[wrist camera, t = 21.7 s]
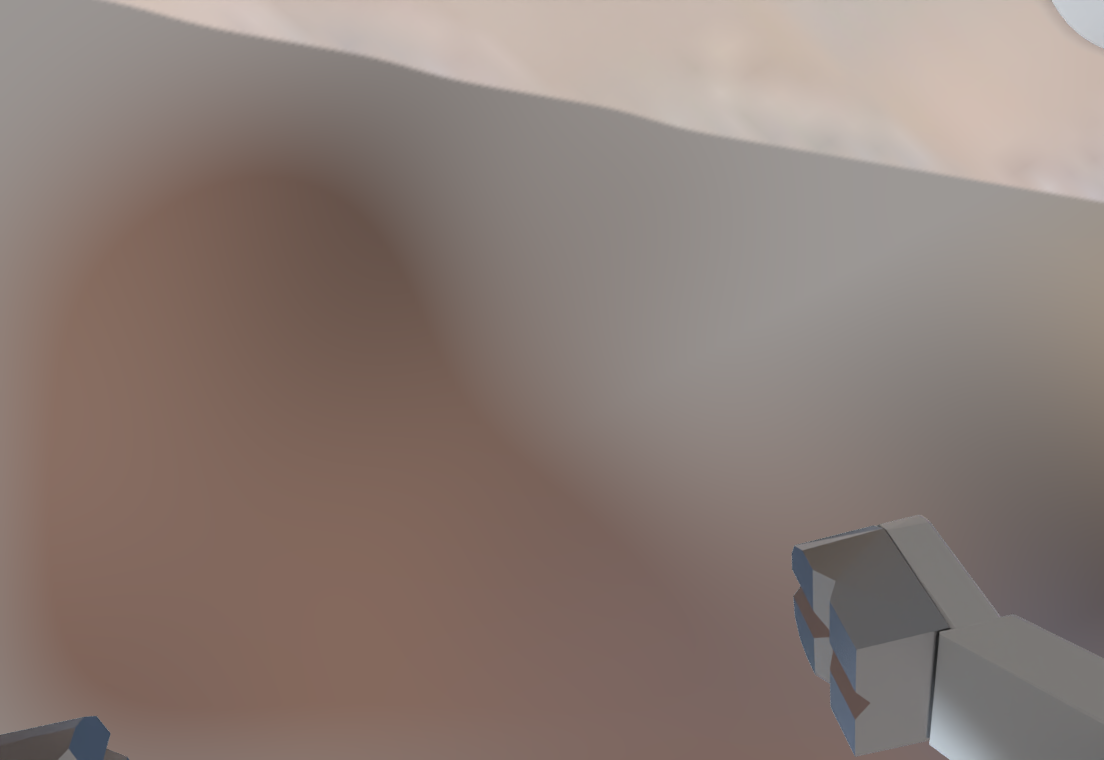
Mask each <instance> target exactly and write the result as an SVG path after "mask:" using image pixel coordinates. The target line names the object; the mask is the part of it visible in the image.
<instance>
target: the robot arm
mask: <svg viewBox="0 0 1104 760" xmlns="http://www.w3.org/2000/svg"><path fill="white" fill-rule="evenodd" d="M1052 2H1053V3H1054V5H1055V7H1056V9H1057V10H1058V12H1059V13H1060V14H1061V16H1062V17H1063V18H1064V20H1065V21H1066V22H1067V23H1068V24H1069V25H1070V26H1071V27H1072V28H1073V29H1074V30H1075V31H1076V32H1077V33H1078V34H1080V35H1081V36H1082V37H1083V38H1085V39H1086V40H1088V41H1090V42H1091V43H1093V44H1095V45H1097V46H1099V47H1101V48H1103V49H1104V0H1052ZM792 570H793V572H794V574H795V576H796V578H797V580H798V582H799V584H800V588H799V589H798V591H797V592H796V593H795V595H794V596H793V597H794V611H795V619H796V623H797V628H798V632H799V636H800V640H801V643H802V645H803V648H804V651H805V653H806V656H807V658H808V660H809V663H810V665H811V667H812V669H813V671H814V673H815V675H817V676H818V677H820V678H822V679H823V680H825V681H827V682H828V683H830V700H831V702H830V703H831V709H832V711H833V713H834V715H835V717H836V719H837V721H838V723H839V725H840V727H841V729H842V731H843V733H844V735H845V737H846V739H847V741H848V743H849V745H850V747H851V749H852V751H853V753H854V756H860V755H865V754H869V753H874V752H879V751H883V750H888V749H892V748H897V747H902V746H906V745H911V744H915V743H920V742H925V741H929V740H930V743H929V744H930V745H931V746H932V747H934V748H935V749H936V750H938V751H939V752H940V753H942V754H943V755H944V756H946V757H947V758H948V759H950V760H1104V658H1101V657H1100V656H1098V655H1096V654H1093V653H1091V652H1089V651H1087V650H1085V649H1083V648H1081V647H1079V646H1077V645H1075V644H1073V643H1071V642H1069V641H1067V640H1065V639H1063V638H1061V637H1059V636H1057V635H1055V634H1053V633H1051V632H1049V631H1047V630H1045V629H1043V628H1040V627H1039V626H1036V625H1035V624H1032V623H1030V622H1028V621H1026V620H1024V619H1022V618H1020V617H1018V616H1016V615H1008V616H1004V617H1000V615H999V614H998V613H997V611H996V610H995V608H994V607H993V606H992V604H991V603H990V602H989V600H988V599H987V598H986V596H985V595H984V594H983V592H982V591H981V590H980V588H979V587H978V586H977V584H976V583H975V582H974V580H973V579H972V577H971V576H970V575H969V573H968V572H967V571H966V569H965V568H964V567H963V566H962V564H961V563H960V561H959V560H958V559H957V557H956V556H955V555H954V553H953V552H952V551H951V549H950V548H949V547H948V545H947V544H946V543H945V541H944V540H943V538H942V537H941V536H940V534H939V533H938V532H937V530H936V529H935V528H934V526H933V525H932V524H931V522H930V521H929V520H928V519H927V518H925V517H923V516H922V515H916V516H912V517H908V518H903V519H899V520H895V521H891V522H887V523H883V524H880V525H878V526H870V527H866V528H862V529H858V530H854V531H850V532H846V533H842V534H838V535H834V536H830V537H826V538H822V539H818V540H814V541H810V542H806V543H802V544H798V545H795V546H794V548H793V551H792ZM109 737H110V732H109V731H108V730H107V728H106V727H105V726H104V725H103V724H102V722H101V721H100V720H99V719H98V717H97V716H90V717H82V718H77V719H72V720H67V721H63V722H58V723H53V724H49V725H44V726H39V727H35V728H30V729H26V730H21V731H16V732H11V733H7V734H2V735H0V760H129V759H128V757H126V756H124V755H121V754H119V753H116V752H113V751H111V750H109V749H106V748H107V745H108V741H109Z"/></svg>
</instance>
